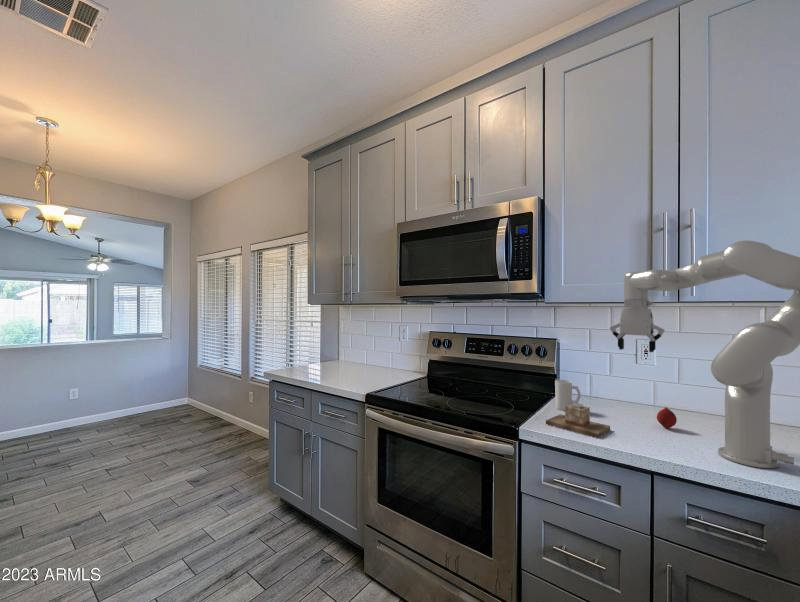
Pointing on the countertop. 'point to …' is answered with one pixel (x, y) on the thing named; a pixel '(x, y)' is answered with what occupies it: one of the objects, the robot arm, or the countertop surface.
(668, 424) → the onion
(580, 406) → the steel pin
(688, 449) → the countertop surface
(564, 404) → the mug
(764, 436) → the robot arm
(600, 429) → the pin board
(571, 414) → the sleeve
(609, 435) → the countertop surface
